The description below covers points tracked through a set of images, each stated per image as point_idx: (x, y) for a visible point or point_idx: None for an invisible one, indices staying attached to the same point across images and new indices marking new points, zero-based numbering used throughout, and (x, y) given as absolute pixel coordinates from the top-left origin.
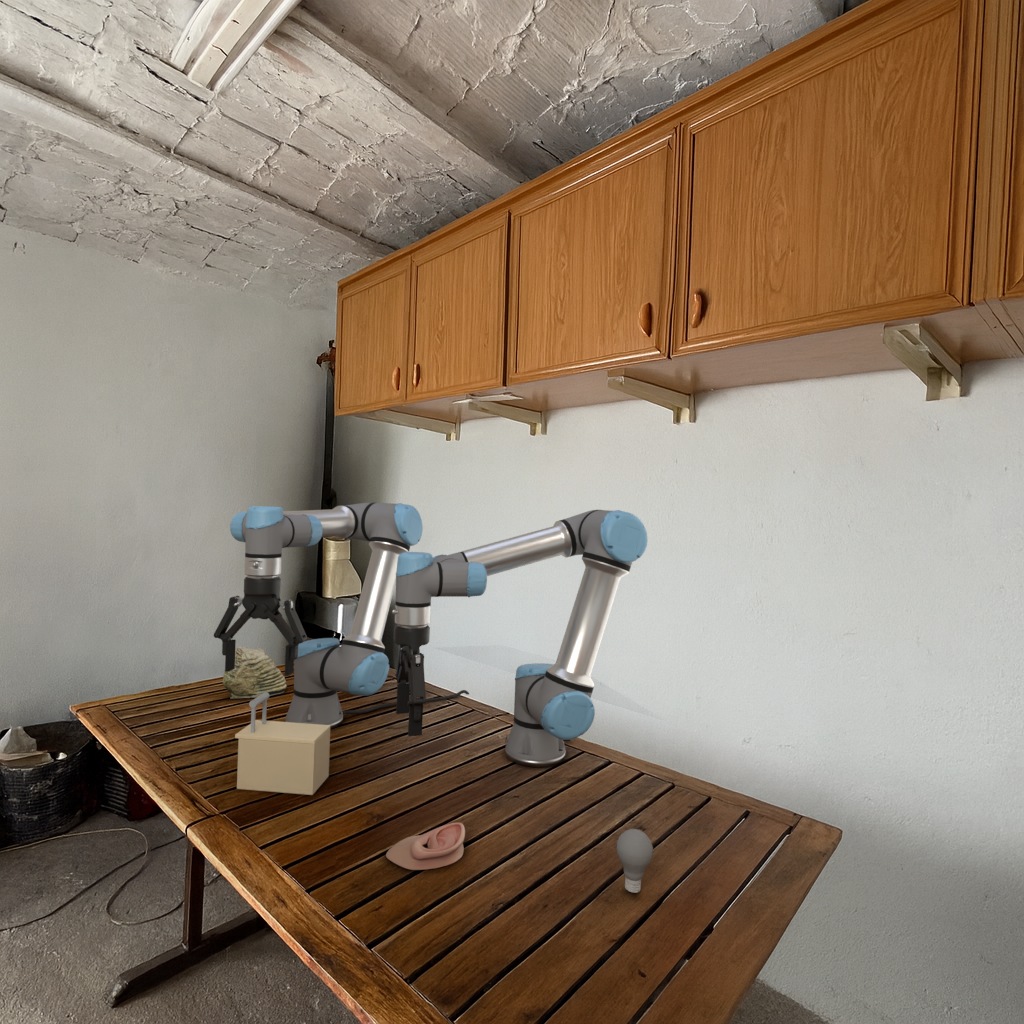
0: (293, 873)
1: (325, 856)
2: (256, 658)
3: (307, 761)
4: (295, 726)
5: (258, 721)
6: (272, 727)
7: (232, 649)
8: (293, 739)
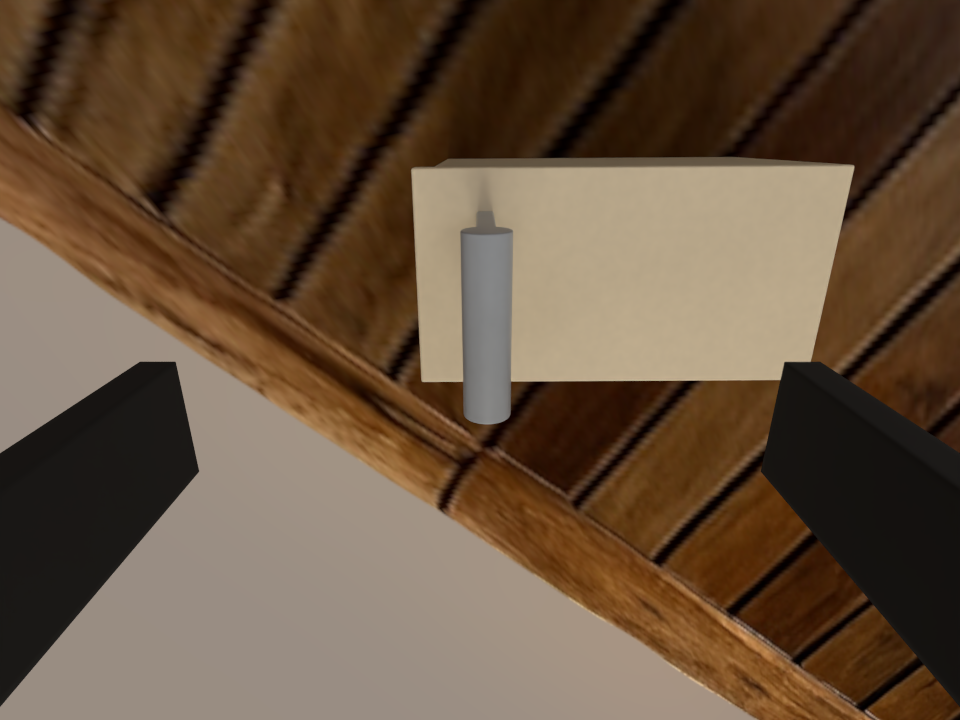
0: (755, 624)
1: (810, 570)
2: None
3: None
4: (666, 226)
5: (439, 193)
6: (553, 265)
7: (30, 558)
8: (704, 379)
